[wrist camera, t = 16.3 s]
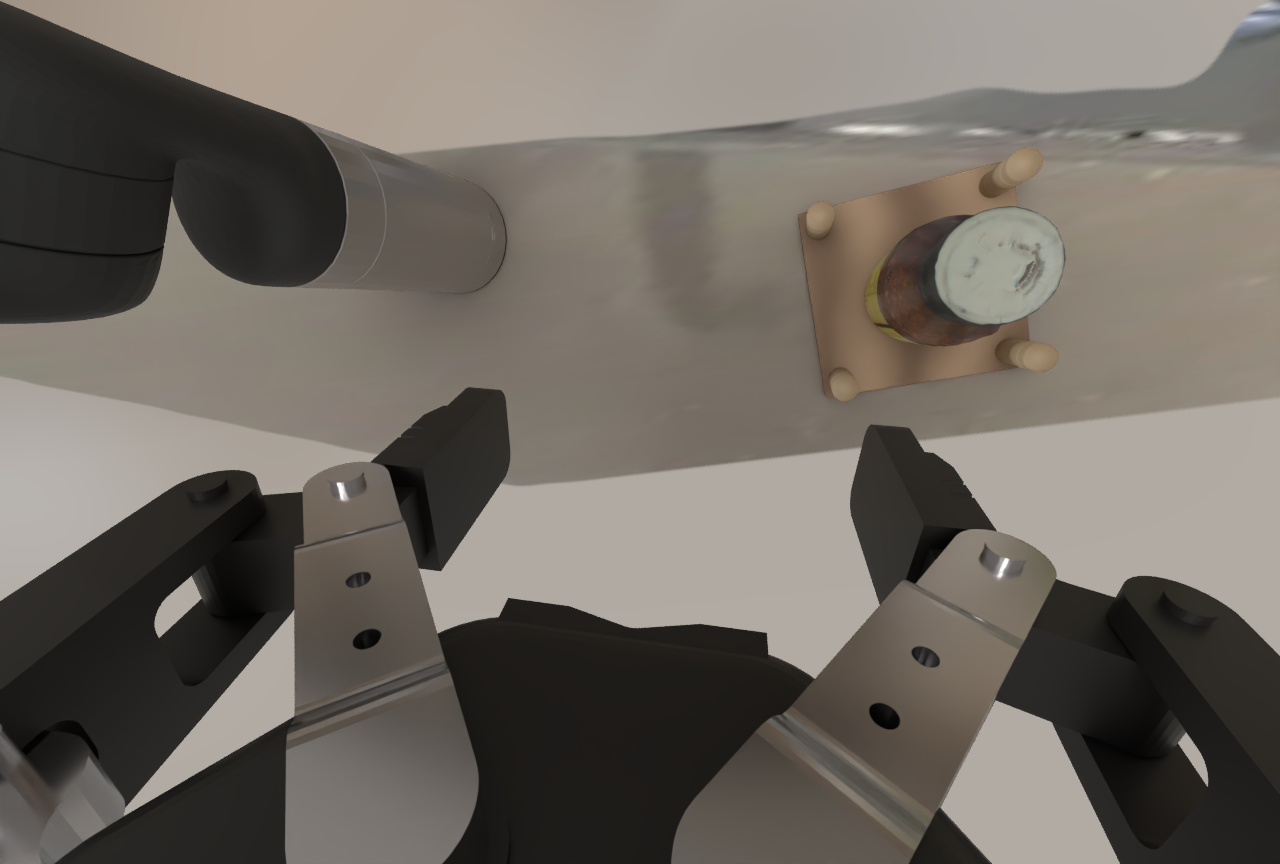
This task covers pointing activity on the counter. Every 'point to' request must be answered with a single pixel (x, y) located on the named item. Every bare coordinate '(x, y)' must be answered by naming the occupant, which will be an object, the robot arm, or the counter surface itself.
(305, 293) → the counter surface
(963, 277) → the sauce bottle
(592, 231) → the counter surface
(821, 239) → the peg stand
